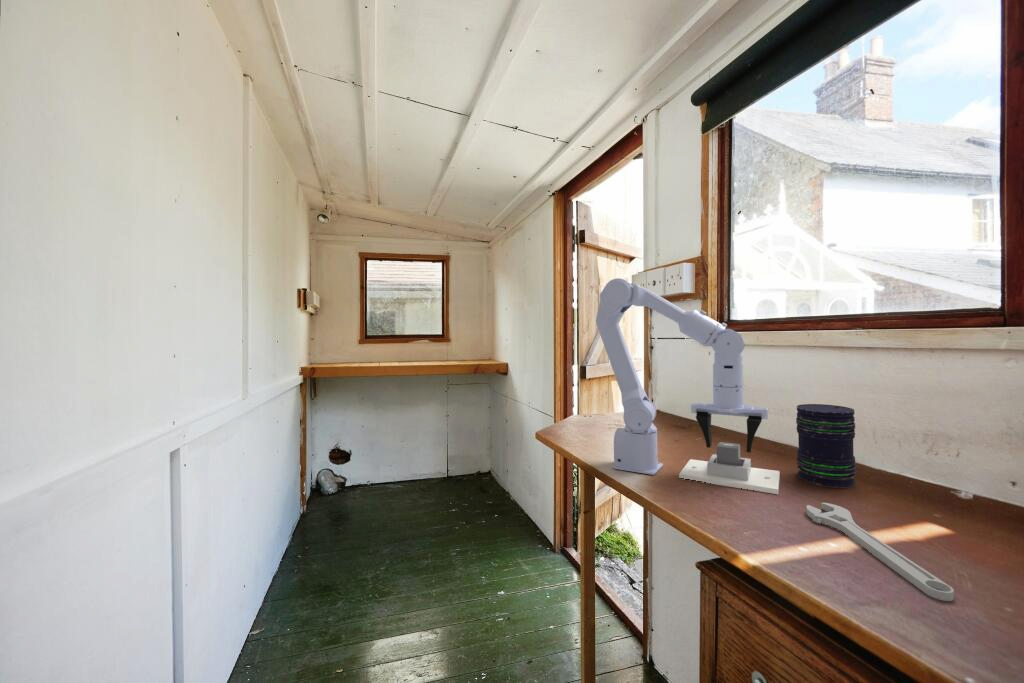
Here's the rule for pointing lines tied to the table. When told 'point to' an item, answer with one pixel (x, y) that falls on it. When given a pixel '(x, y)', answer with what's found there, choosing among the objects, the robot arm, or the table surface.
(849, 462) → the dark blue barrel
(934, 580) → the adjustable wrench
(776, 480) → the outlet plate
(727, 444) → the block
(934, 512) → the table surface
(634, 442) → the robot arm
